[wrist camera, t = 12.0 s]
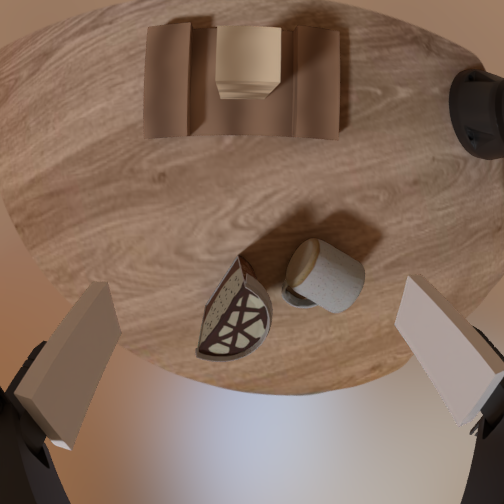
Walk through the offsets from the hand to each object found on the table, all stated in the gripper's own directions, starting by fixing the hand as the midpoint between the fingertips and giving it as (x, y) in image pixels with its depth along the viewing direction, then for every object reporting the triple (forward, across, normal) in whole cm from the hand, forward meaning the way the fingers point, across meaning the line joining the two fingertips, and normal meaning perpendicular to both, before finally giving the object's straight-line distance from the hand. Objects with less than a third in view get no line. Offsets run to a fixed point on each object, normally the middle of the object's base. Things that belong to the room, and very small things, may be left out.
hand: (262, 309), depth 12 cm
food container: (+26, -1, -14) cm, 29 cm away
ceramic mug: (+26, +9, -12) cm, 30 cm away
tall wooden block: (+25, 0, +14) cm, 29 cm away
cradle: (+26, 0, +14) cm, 29 cm away
